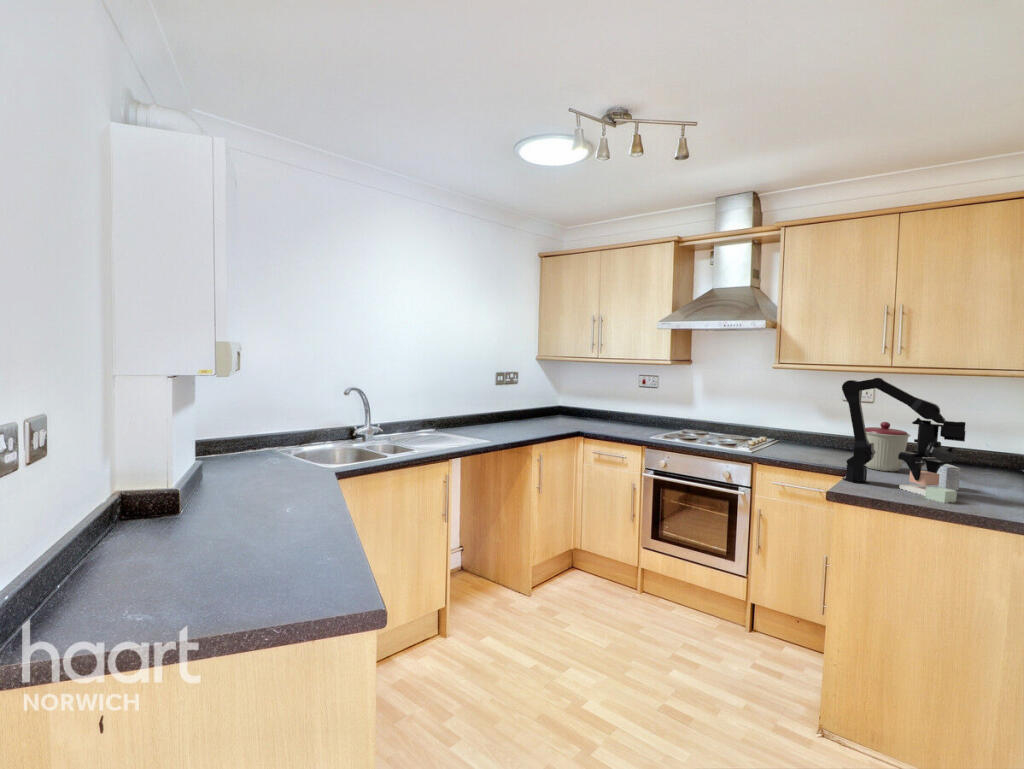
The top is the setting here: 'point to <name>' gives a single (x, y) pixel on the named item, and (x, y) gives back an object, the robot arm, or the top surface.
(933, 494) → the pale green block
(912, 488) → the base plate
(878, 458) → the canister
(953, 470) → the medicine box
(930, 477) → the bottom brick
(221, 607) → the top surface
